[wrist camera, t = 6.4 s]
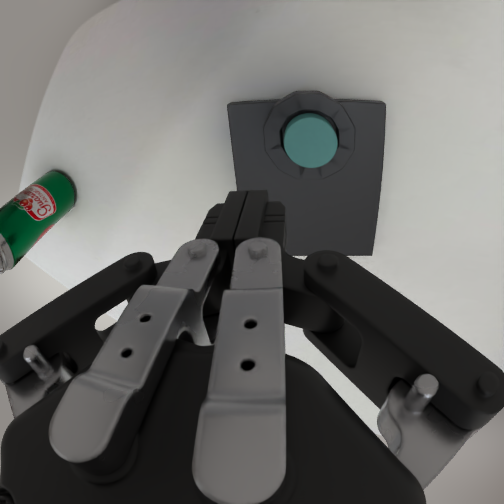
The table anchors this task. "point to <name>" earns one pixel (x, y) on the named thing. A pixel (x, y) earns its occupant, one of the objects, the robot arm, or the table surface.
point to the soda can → (32, 216)
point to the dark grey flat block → (315, 169)
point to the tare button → (310, 140)
